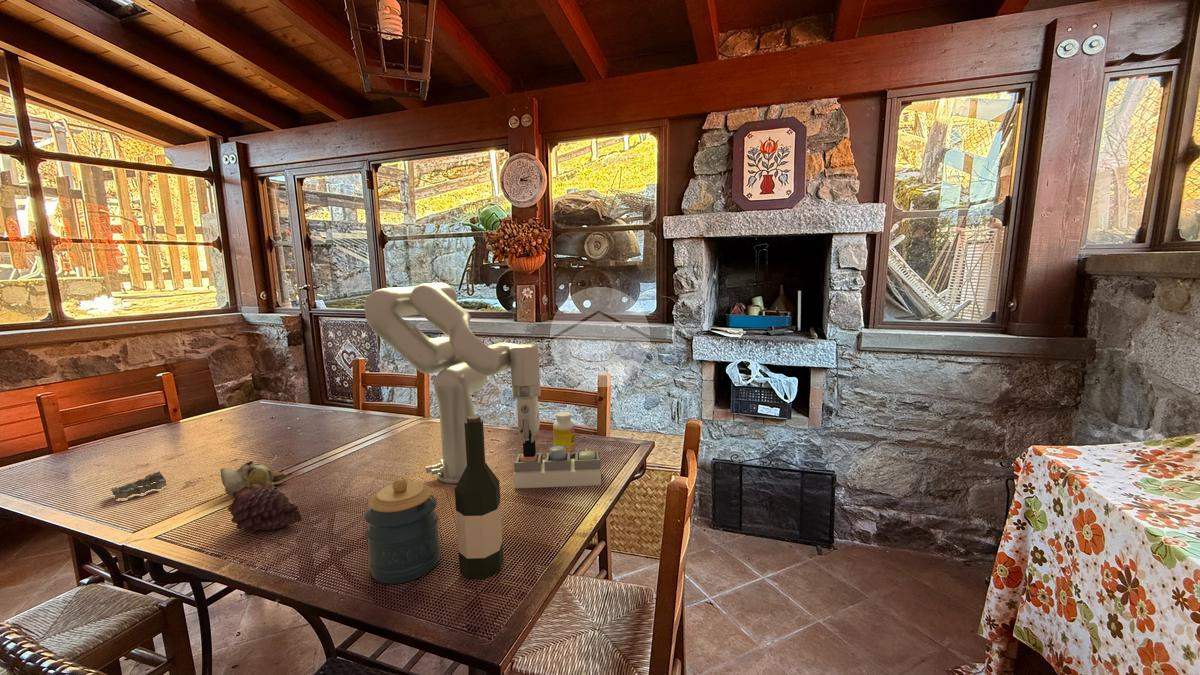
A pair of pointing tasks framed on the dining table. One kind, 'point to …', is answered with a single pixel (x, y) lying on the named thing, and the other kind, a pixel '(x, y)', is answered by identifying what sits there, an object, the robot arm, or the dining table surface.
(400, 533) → the canister
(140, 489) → the tree bark piece
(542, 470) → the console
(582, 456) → the sage button
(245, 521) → the pine cone
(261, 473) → the ceramic sculpture
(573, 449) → the supplement bottle
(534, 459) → the terracotta button
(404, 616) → the dining table surface
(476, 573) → the wine bottle
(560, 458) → the slate button
